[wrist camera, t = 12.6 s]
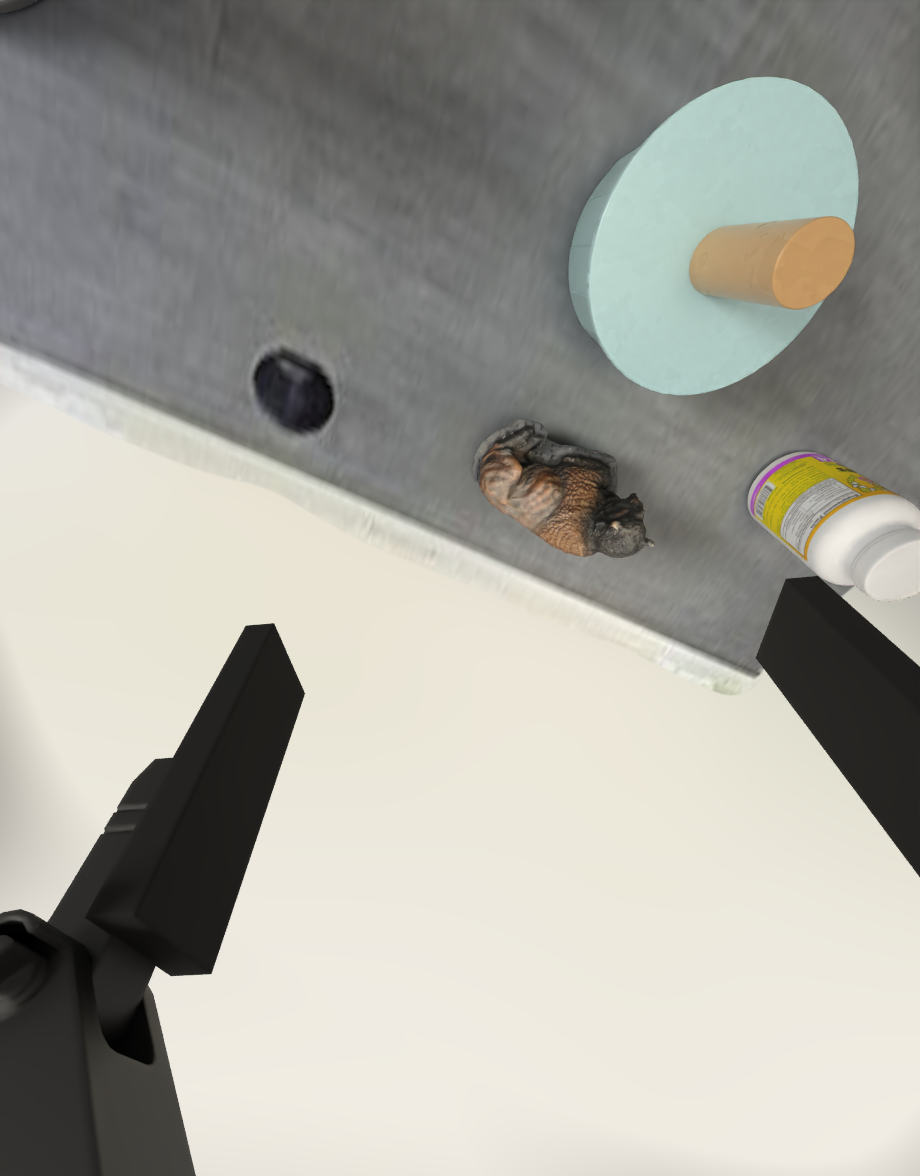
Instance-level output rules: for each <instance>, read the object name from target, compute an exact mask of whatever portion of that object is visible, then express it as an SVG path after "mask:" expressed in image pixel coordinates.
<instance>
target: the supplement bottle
mask: <svg viewBox="0 0 920 1176" xmlns="http://www.w3.org/2000/svg"><path fill="white" fill-rule="evenodd" d="M747 503H748V509H749V512H750V514H751V516H752V517H753V518H754V519H755V520H756V521H757V522H758V523H759V524H760V525H761V526H762V527H763V528H765V529H766V530H767V531H768V532H769V533H770V534H772V535H773V536H774V537H775V538H776V539H777V540H778V541H780V542H781V543H782V544H783V545H784V546H785V547H787V548H788V549H789V550H790V551H791V552H792V553H793V554H795V555H796V556H797V557H798V558H799V559H800V560H801V561H803V562H804V563H805V564H806V565H807V566H808V567H809V568H810V569H812V570H813V571H814V572H815V573H816V574H817V575H818V576H820V577H821V578H822V579H824V580H826V581H828V582H831V583H834V584H838V585H855V586H856V587H857V588H858V589H860V590H861V591H862V592H864V593H865V594H866V595H868V596H869V597H870V598H873V599H874V600H877V601H882V602H891V601H898V600H902V599H905V598H909V597H911V596H913V595H915V594H917V593H919V592H920V510H919V509H918V508H917V507H916V506H915V505H914V504H913V503H911V502H910V501H908V500H906V499H905V498H903V497H901V496H899V495H897V494H895V493H893V492H891V491H889V490H887V489H886V488H884V487H882V486H880V485H878V484H876V483H875V482H873V481H871V480H869V479H867V478H865V477H863V476H861V475H860V474H858V473H856V472H854V471H852V470H851V469H849V468H847V467H845V466H843V465H841V464H839V463H837V462H836V461H834V460H832V459H830V458H828V457H826V456H824V455H821V454H819V453H815V452H807V451H805V452H796V453H792V454H789V455H786V456H783V457H781V458H779V459H777V460H776V461H774V462H773V463H771V464H770V465H769V466H768V467H766V468H765V469H764V470H763V471H762V472H761V473H760V474H759V475H758V477H757V478H756V479H755V481H754V482H753V484H752V486H751V488H750V491H749V494H748V502H747Z"/></svg>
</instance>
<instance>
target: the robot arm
mask: <svg viewBox="0 0 920 1176" xmlns="http://www.w3.org/2000/svg"><path fill="white" fill-rule="evenodd" d="M36 1H38V0H0V13H7V12H11V11H16V10H20V9H22V8H24V7H27V6H29V5H31V4H33V3H35V2H36ZM756 659H757V660H758V661H759V663H760V664H761V665H762V667H763V668H764V669H765V671H766V672H767V673H768V675H769V676H770V677H771V679H772V680H773V681H774V683H775V684H776V685H777V687H778V688H779V689H780V691H781V692H782V693H783V695H784V696H785V698H786V699H787V700H788V702H789V703H790V704H791V706H792V707H793V708H794V710H795V711H796V712H797V714H798V715H799V716H800V717H801V719H802V720H803V722H804V723H805V724H806V726H807V727H808V728H809V729H810V731H811V732H812V734H813V735H814V736H815V738H816V739H817V740H818V742H819V743H820V744H821V746H822V747H823V748H824V750H825V751H826V752H827V754H828V755H829V756H830V758H831V759H832V760H833V762H834V763H835V764H836V766H837V767H838V768H839V770H840V771H841V772H842V774H843V775H844V776H845V778H846V779H847V780H848V782H849V783H850V784H851V786H852V787H853V788H854V790H855V791H856V792H857V794H858V795H859V796H860V798H861V799H862V800H863V802H864V803H865V804H866V806H867V807H868V809H869V810H870V811H871V813H872V814H873V815H874V817H875V818H876V819H877V820H878V822H879V823H880V825H881V826H882V827H883V828H884V830H885V831H886V833H887V834H888V835H889V837H890V838H891V839H892V841H893V842H894V843H895V845H896V846H897V847H898V849H899V850H900V851H901V853H902V854H903V855H904V857H905V858H906V859H907V861H908V862H909V863H910V865H911V866H912V867H913V869H914V870H915V871H916V873H917V874H918V875H919V877H920V667H919V666H918V665H917V664H916V663H915V662H914V661H913V660H912V659H910V658H909V657H908V656H907V655H906V654H905V653H904V652H902V651H901V650H900V649H899V648H898V647H897V646H896V645H895V644H894V643H892V642H891V641H890V640H889V639H888V638H887V637H886V636H885V635H883V634H882V633H881V632H880V631H879V630H878V629H877V628H875V627H874V626H873V625H872V624H871V623H870V622H869V621H868V620H866V619H865V618H864V617H863V616H862V615H861V614H860V613H859V612H857V611H856V610H855V609H854V608H853V607H852V606H851V605H850V604H848V603H847V602H846V601H845V600H844V599H843V598H842V597H841V596H839V595H838V594H837V593H836V592H835V591H834V590H833V589H832V588H830V587H829V586H828V585H827V584H826V583H825V582H824V581H823V580H821V579H820V578H819V577H818V576H813V577H802V578H790V579H786V580H785V583H784V585H783V588H782V591H781V593H780V596H779V598H778V601H777V604H776V606H775V609H774V612H773V614H772V617H771V619H770V622H769V625H768V627H767V630H766V632H765V635H764V638H763V640H762V643H761V646H760V648H759V651H758V653H757V656H756ZM304 694H305V693H304V690H303V688H302V686H301V683H300V681H299V679H298V677H297V674H296V672H295V670H294V668H293V665H292V663H291V661H290V659H289V656H288V654H287V652H286V649H285V647H284V645H283V643H282V640H281V638H280V636H279V633H278V631H277V629H276V627H275V624H274V623H272V624H261V625H249V626H245V628H244V630H243V632H242V634H241V635H240V637H239V639H238V641H237V643H236V644H235V646H234V648H233V650H232V652H231V654H230V655H229V657H228V659H227V661H226V663H225V664H224V666H223V668H222V670H221V672H220V673H219V676H218V677H217V679H216V681H215V683H214V684H213V686H212V688H211V690H210V692H209V694H208V695H207V697H206V699H205V701H204V703H203V704H202V706H201V708H200V710H199V711H198V713H197V715H196V717H195V719H194V721H193V722H192V724H191V726H190V728H189V730H188V731H187V733H186V735H185V737H184V739H183V740H182V742H181V744H180V746H179V748H178V750H177V751H176V753H175V755H174V757H173V758H163V759H155V760H154V761H153V762H152V763H151V764H150V765H149V766H148V767H147V768H146V769H145V770H144V771H143V772H142V773H141V774H140V775H139V776H138V777H137V778H136V779H135V780H134V781H133V782H132V784H131V785H130V787H129V789H128V790H127V792H126V794H125V795H124V797H123V799H122V800H121V802H120V804H119V805H118V807H117V808H118V810H117V812H116V813H113V815H112V817H111V818H110V820H109V822H108V824H107V825H106V827H105V828H104V829H105V832H104V834H101V835H100V837H99V838H98V840H97V842H96V843H95V845H94V847H93V848H92V850H91V852H90V853H89V855H88V857H87V858H86V860H85V862H84V863H83V865H82V867H81V868H80V870H79V872H78V873H77V875H76V876H75V878H74V880H73V881H72V883H71V885H70V886H69V888H68V890H67V892H66V893H65V895H64V897H63V898H62V900H61V901H60V903H59V905H58V906H57V908H56V910H55V911H54V913H53V915H52V916H51V918H50V919H49V921H48V922H45V921H44V920H42V919H41V918H39V917H37V916H36V915H34V914H32V913H30V912H27V911H24V910H21V909H19V910H14V911H8V912H3V913H1V914H0V1176H196V1175H195V1171H194V1167H193V1163H192V1158H191V1154H190V1150H189V1145H188V1141H187V1137H186V1132H185V1128H184V1124H183V1120H182V1115H181V1111H180V1107H179V1102H178V1098H177V1094H176V1090H175V1085H174V1081H173V1077H172V1073H171V1069H170V1064H169V1060H168V1056H167V1051H166V1047H165V1043H164V1039H163V1034H162V1030H161V1025H160V1021H159V1017H158V1013H157V1009H156V1004H155V1000H154V996H153V993H152V991H151V990H150V988H149V986H148V983H149V981H150V978H151V976H152V973H153V971H154V968H155V966H157V967H158V968H160V969H161V970H163V971H164V972H166V973H167V974H169V975H170V976H182V975H202V974H212V971H213V968H214V965H215V962H216V959H217V956H218V953H219V950H220V947H221V943H222V941H223V937H224V935H225V932H226V929H227V926H228V923H229V920H230V917H231V914H232V911H233V908H234V904H235V902H236V899H237V896H238V893H239V890H240V887H241V884H242V881H243V878H244V874H245V872H246V869H247V865H248V863H249V860H250V857H251V854H252V851H253V848H254V845H255V842H256V839H257V835H258V833H259V830H260V827H261V824H262V821H263V817H264V815H265V812H266V809H267V806H268V802H269V800H270V797H271V794H272V791H273V788H274V785H275V782H276V779H277V776H278V773H279V770H280V767H281V764H282V761H283V758H284V755H285V751H286V749H287V746H288V743H289V740H290V737H291V734H292V731H293V728H294V725H295V722H296V719H297V715H298V713H299V709H300V707H301V704H302V701H303V698H304Z"/></svg>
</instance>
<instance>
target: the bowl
mask: <svg viewBox="0 0 920 1176" xmlns="http://www.w3.org/2000/svg"><path fill="white" fill-rule="evenodd" d="M639 147H640V146H639ZM639 147H638V148H636V149H634V150H633V151H632V152H630V153H629V154H627V155H626V156H624V157H623V158H621V159H620V160H618V161H617V162H616V163H615V165H614V166H613V167H612V169H611V170H610V171H609V172H608V173H607V174H606V175H605V177H604V178H603V179H602V180H601V181H600V183H599V184H598V186H597V187H596V189H595V190H594V192H593V193H592V194H591V196H590V198H589V199H588V201H587V203H586V205H585V207H584V209H583V211H582V214H581V216H580V219H579V221H578V223H577V226H576V229H575V233H574V236H573V240H572V245H571V250H570V256H569V268H568V273H569V289H570V295H571V299H572V303H573V307H574V309H575V312H576V314H577V317H578V319H579V321H580V324H581V325H582V327H583V328H584V329H585V330H586V331H587V333H588V334H589V335H590V336H591V337H592V338H593V339H594V340H595V341H596V342H597V343H598V344H599V342H598V340H597V337H596V335H595V332H594V330H593V326H592V322H591V318H590V314H589V307H588V299H587V272H588V263H589V255H590V250H591V245H592V241H593V236H594V233H595V230H596V227H597V224H598V220H599V217H600V214H601V212H602V210H603V207H604V205H605V203H606V200H607V198H608V196H609V194H610V192H611V190H612V188H613V186H614V185H615V183H616V181H617V179H618V177H619V175H620V174H621V172H622V171H623V169H624V168H625V166H626V165H627V163H628V162H629V160H630V159H631V158H632V156H633V155H634V153H635V152H636V151H637V150H638V149H639ZM599 345H600V344H599Z"/></svg>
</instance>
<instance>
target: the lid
mask: <svg viewBox="0 0 920 1176" xmlns="http://www.w3.org/2000/svg"><path fill="white" fill-rule="evenodd" d="M858 189H859V180H858V168H857V160H856V156H855V151H854V147H853V143H852V140H851V138H850V135H849V133H848V130H847V128H846V126H845V124H844V122H843V121H842V119H841V118H840V116H839V114H838V113H837V111H836V110H835V109H834V108H833V106H832V105H831V104H830V103H829V102H828V101H827V100H826V99H825V98H824V97H823V96H821V95H820V94H818V93H817V92H815V91H814V90H812V89H811V88H809V87H808V86H806V85H803V84H800V83H798V82H795V81H793V80H790V79H783V78H777V77H754V78H747V79H743V80H739V81H734V82H730V83H728V84H725V85H723V86H720V87H718V88H715V89H713V90H710V91H709V92H707V93H705V94H703V95H702V96H700V97H698V98H696V99H695V100H693V101H691V102H689V103H688V104H686V105H685V106H683V107H682V108H681V109H679V110H678V111H677V112H675V113H674V114H673V115H672V116H670V117H669V118H668V119H666V120H665V121H664V122H663V123H662V124H661V125H660V126H659V127H658V128H657V129H656V130H655V131H654V132H653V133H652V134H651V135H650V136H649V137H648V138H647V139H646V140H645V141H644V143H643V144H642V145H641V146H640V147H639V149H638V150H637V151H636V152H635V153H634V155H633V156H632V158H631V159H630V160H629V162H628V163H627V165H626V166H625V168H624V169H623V171H622V172H621V174H620V175H619V177H618V179H617V181H616V183H615V185H614V186H613V188H612V190H611V192H610V194H609V196H608V198H607V200H606V203H605V205H604V207H603V210H602V212H601V214H600V217H599V220H598V224H597V227H596V230H595V233H594V236H593V241H592V245H591V250H590V255H589V263H588V272H587V299H588V307H589V314H590V318H591V322H592V326H593V330H594V332H595V335H596V337H597V340H598V342H599V344H600V346H601V348H602V349H603V351H604V353H605V355H606V356H607V358H608V359H609V360H610V361H611V363H612V364H613V365H614V366H615V367H616V368H617V369H618V370H619V371H620V372H621V373H622V374H623V375H624V376H626V377H627V378H628V379H630V380H632V381H633V382H635V383H636V384H638V385H639V386H642V387H644V388H646V389H649V390H651V391H655V392H658V393H662V394H669V395H695V394H701V393H707V392H710V391H714V390H717V389H720V388H723V387H726V386H728V385H730V384H733V383H735V382H737V381H739V380H741V379H743V378H745V377H747V376H748V375H750V374H752V373H754V372H755V371H757V370H758V369H759V368H761V367H762V366H764V365H765V364H767V363H768V362H769V361H771V360H772V359H773V358H774V357H775V356H777V355H778V354H779V353H780V352H781V351H783V350H784V349H785V348H786V347H787V346H788V345H789V344H790V343H791V342H792V341H793V340H794V339H795V338H796V337H797V335H798V334H799V333H800V332H801V331H802V329H803V328H804V327H805V326H806V325H807V324H808V322H809V321H810V320H811V318H812V317H813V315H814V314H815V313H816V311H817V310H818V308H819V307H820V306H821V304H822V302H823V301H824V299H825V298H826V297H827V296H829V295H830V294H831V293H832V292H833V291H834V290H835V289H836V288H837V287H838V285H839V284H840V283H841V281H842V280H843V279H844V277H845V275H846V274H847V272H848V270H849V268H850V265H851V263H852V260H853V256H854V251H855V237H854V233H853V229H854V225H855V219H856V213H857V206H858Z"/></svg>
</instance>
